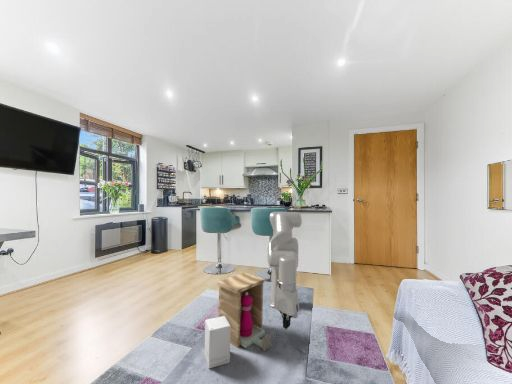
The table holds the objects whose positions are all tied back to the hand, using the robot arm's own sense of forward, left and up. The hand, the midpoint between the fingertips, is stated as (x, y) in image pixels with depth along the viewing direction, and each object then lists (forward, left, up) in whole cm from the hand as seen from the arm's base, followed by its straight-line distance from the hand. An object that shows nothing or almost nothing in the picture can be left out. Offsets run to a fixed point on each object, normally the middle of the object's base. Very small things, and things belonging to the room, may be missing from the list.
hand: (286, 326), depth 98 cm
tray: (+4, -18, -11) cm, 21 cm away
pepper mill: (+3, -21, -11) cm, 24 cm away
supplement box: (+22, -19, -12) cm, 32 cm away
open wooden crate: (+3, -25, -12) cm, 28 cm away
